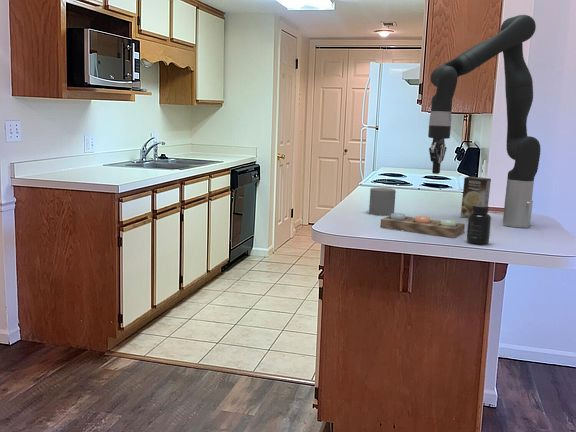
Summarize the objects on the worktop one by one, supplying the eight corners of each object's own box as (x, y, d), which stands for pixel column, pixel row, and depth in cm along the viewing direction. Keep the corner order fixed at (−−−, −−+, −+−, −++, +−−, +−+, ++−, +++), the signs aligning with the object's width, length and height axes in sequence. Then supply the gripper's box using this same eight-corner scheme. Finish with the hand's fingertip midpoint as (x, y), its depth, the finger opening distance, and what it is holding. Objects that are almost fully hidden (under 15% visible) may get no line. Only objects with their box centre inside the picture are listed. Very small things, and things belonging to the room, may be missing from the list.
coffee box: (459, 217, 230) (463, 177, 227) (464, 215, 235) (468, 176, 232) (482, 220, 225) (486, 179, 222) (487, 218, 230) (491, 178, 227)
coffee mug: (396, 216, 227) (398, 191, 225) (371, 215, 227) (372, 190, 225) (389, 210, 240) (391, 186, 238) (365, 209, 240) (367, 186, 238)
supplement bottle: (471, 239, 189) (474, 203, 187) (492, 243, 184) (495, 205, 182) (462, 242, 183) (466, 205, 181) (483, 246, 179) (487, 208, 177)
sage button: (457, 229, 197) (457, 220, 197) (453, 231, 193) (453, 222, 193) (442, 227, 200) (443, 218, 199) (438, 229, 196) (439, 220, 195)
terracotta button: (431, 225, 202) (432, 217, 201) (426, 227, 198) (427, 219, 197) (417, 223, 204) (418, 215, 204) (412, 225, 200) (413, 217, 200)
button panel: (463, 232, 200) (464, 223, 199) (454, 238, 190) (454, 229, 189) (393, 222, 213) (393, 214, 213) (380, 227, 203) (380, 219, 202)
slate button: (406, 222, 207) (407, 214, 206) (401, 224, 202) (402, 215, 202) (393, 220, 209) (394, 212, 209) (388, 222, 205) (388, 214, 204)
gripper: (444, 125, 197) (440, 175, 200) (455, 125, 208) (451, 173, 211) (423, 124, 201) (419, 174, 204) (435, 124, 212) (431, 171, 215)
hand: (435, 173), depth 207 cm, fingers closed
